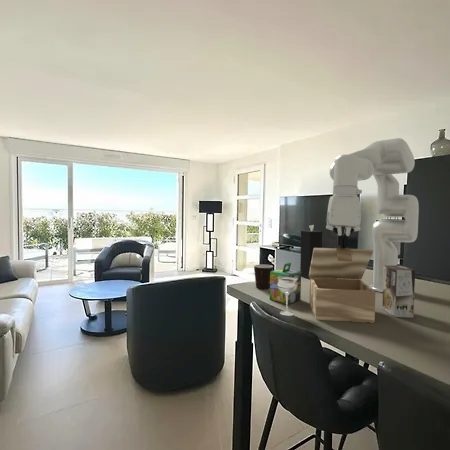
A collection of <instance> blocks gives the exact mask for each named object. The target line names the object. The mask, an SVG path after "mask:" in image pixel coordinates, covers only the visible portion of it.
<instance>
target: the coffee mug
mask: <svg viewBox="0 0 450 450" xmlns="http://www.w3.org/2000/svg"><path fill="white" fill-rule="evenodd" d="M253 271H254V280H255V288H256V289H257V288H258V290H265V291H266V290H270V272H271V271H274V266H273V265H270V264H263V263H262V264H254V265H253Z"/></svg>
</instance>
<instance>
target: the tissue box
mask: <svg viewBox="0 0 450 450" xmlns="http://www.w3.org/2000/svg"><path fill="white" fill-rule="evenodd" d="M314 227H315V226H314V224H312V225H309V230H300V267H299V268H300V270H299V271H300V272H301V278H305V279H307V280H310V278H312V277H309V272H310V266H311V261H312V255H313V250H314V248H323V231H322V230H320V231H319V230H314Z"/></svg>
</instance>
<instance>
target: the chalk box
mask: <svg viewBox="0 0 450 450" xmlns="http://www.w3.org/2000/svg"><path fill="white" fill-rule="evenodd" d="M283 265H284V266H283V268H278V269H275V270H274V269H273V270H272V271H271V272H270V289H269V300H271V301H275V302H278V303H281V304H285V305H286V295H285V293H283V292H281V291H280V290H279V288H278V286H277V283H278V281H279V280H278V277H294V278H297V281H296V282H297V289H296V290H295V291H294V292H293V293H291V294H290V295H288V305H290V304H293V303H296V302H299V301H301V300H302V299H301V297H302V296H301V292H302V277H301V272H300V270H299V271H298V270H295V269H291V265H292V262H288V263H284V264H283ZM286 267H287V268H286Z"/></svg>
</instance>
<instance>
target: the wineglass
mask: <svg viewBox="0 0 450 450" xmlns="http://www.w3.org/2000/svg"><path fill="white" fill-rule="evenodd" d="M278 280H279V281H278V283H277V286H278V288H279V290H280V291H281V292H283V293H285V295H286V304H285V310H281V311H279V314H280V315H281V316H289V317H290V316H294V315H295V313H294V312H293V311H290V310H288V307H289V304H288V295H290V294H291V293H293V292H294V291H295V290H296V289H297V282H296V281H297V278H294V277H278Z"/></svg>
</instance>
